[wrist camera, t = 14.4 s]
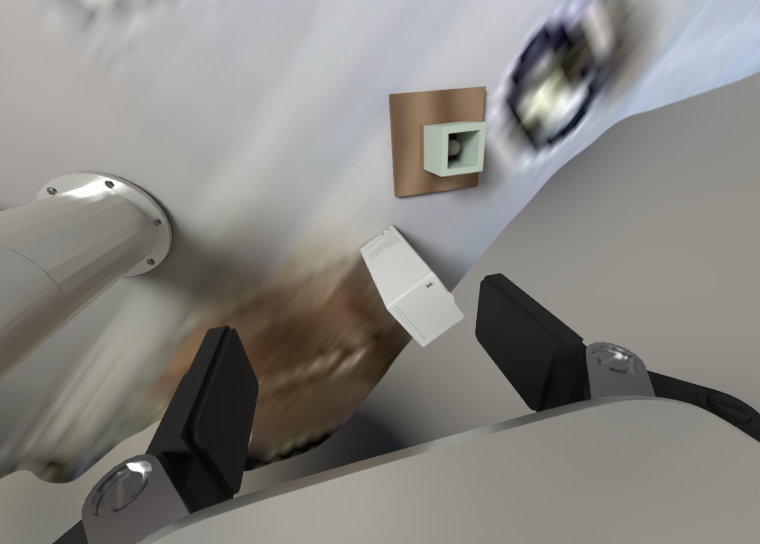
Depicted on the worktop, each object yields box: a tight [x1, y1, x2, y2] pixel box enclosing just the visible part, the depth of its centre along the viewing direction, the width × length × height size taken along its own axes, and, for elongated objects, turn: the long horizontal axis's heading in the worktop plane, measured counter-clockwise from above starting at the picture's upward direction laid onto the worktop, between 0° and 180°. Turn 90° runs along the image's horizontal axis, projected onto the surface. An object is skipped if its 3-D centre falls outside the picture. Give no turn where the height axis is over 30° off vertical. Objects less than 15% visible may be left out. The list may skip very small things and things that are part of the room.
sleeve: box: [419, 121, 487, 177], centre depth 34 cm, size 5×5×7 cm
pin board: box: [389, 87, 486, 197], centre depth 35 cm, size 12×12×6 cm
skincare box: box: [360, 225, 466, 347], centre depth 37 cm, size 8×7×16 cm
